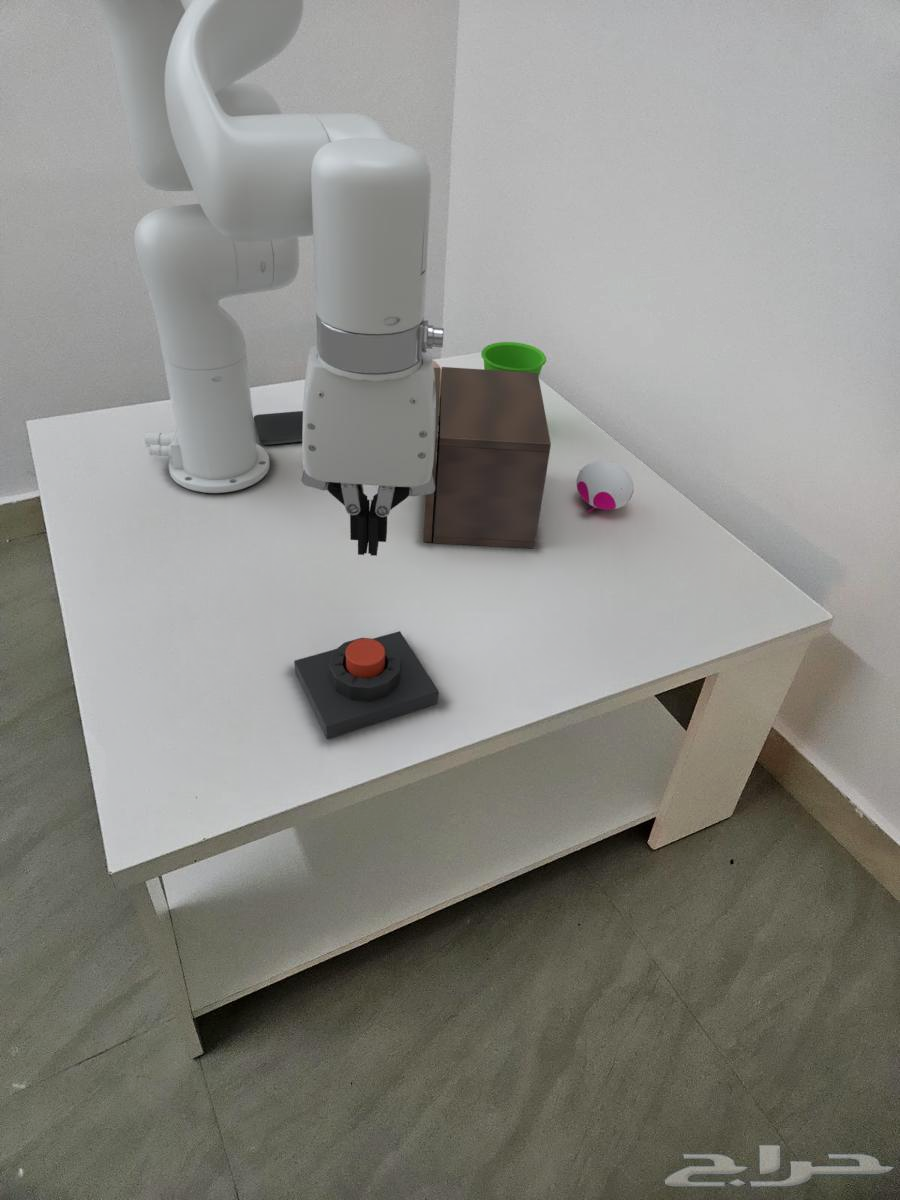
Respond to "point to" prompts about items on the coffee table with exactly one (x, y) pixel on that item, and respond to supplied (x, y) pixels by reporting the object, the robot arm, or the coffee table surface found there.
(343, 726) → the button block
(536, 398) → the cupboard
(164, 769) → the coffee table surface
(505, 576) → the coffee table surface
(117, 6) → the robot arm
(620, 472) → the stress ball
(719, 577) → the coffee table surface
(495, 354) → the cup
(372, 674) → the button
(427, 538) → the door
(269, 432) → the smartphone
